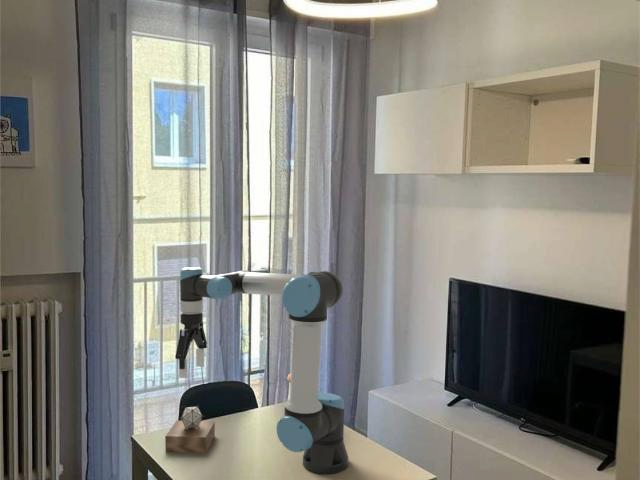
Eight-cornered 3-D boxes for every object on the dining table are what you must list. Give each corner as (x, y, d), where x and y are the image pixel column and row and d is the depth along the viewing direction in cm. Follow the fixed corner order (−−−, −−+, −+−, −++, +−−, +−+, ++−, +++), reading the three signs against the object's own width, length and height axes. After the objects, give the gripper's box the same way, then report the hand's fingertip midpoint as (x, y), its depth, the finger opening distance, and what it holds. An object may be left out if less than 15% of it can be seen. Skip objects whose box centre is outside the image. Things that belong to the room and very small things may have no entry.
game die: (194, 440, 215) (196, 424, 208) (173, 429, 216) (174, 413, 210) (208, 420, 221) (209, 404, 215) (187, 410, 223) (188, 394, 216)
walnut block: (214, 437, 223) (214, 421, 222) (206, 454, 209) (206, 437, 208) (176, 436, 223) (176, 420, 223) (165, 453, 209) (165, 436, 209)
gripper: (196, 304, 225) (197, 361, 227) (164, 318, 201) (165, 381, 203) (215, 305, 223) (216, 362, 225) (185, 320, 199) (186, 383, 201)
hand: (192, 372), depth 214 cm, fingers open, 13 cm apart
